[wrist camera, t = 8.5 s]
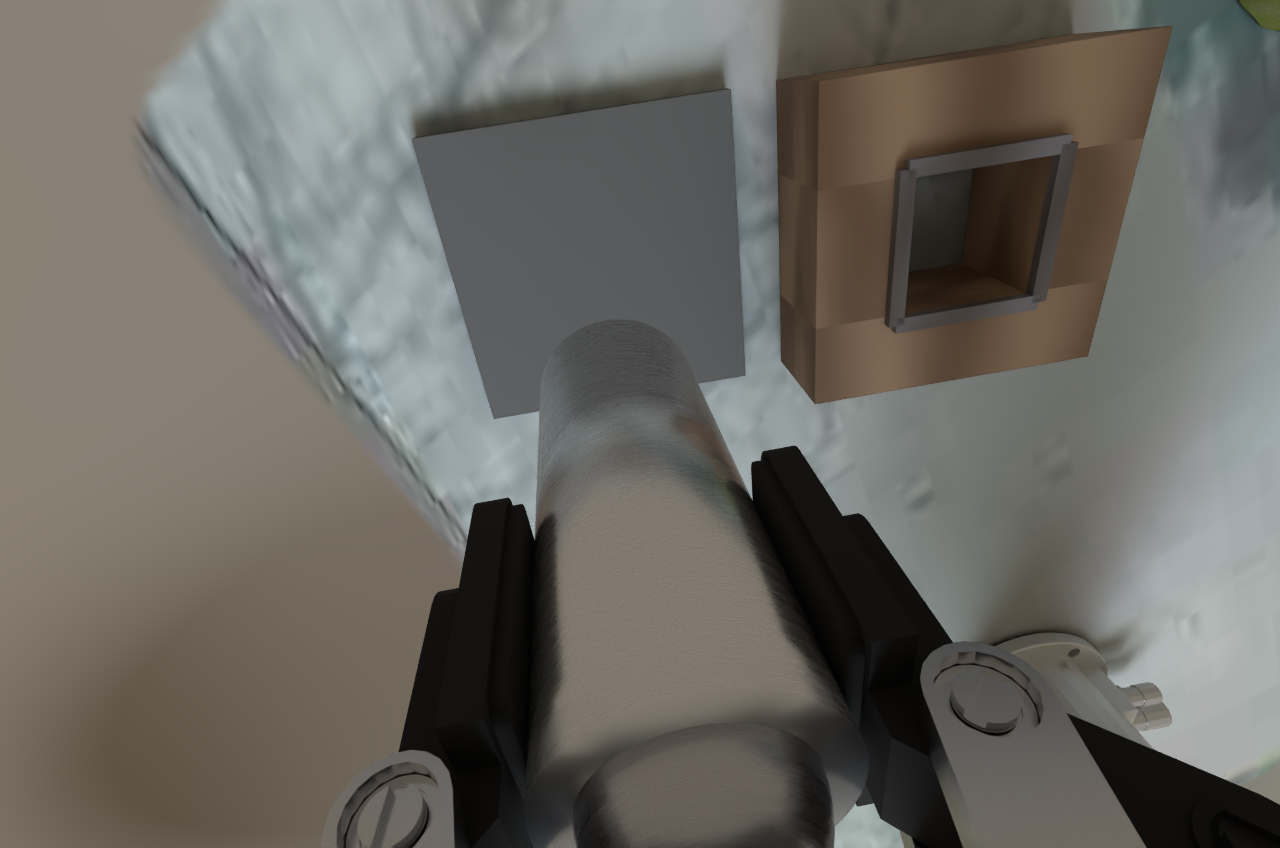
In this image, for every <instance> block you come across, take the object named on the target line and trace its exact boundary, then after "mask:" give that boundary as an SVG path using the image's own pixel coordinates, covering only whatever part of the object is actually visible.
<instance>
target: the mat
mask: <svg viewBox="0 0 1280 848" xmlns="http://www.w3.org/2000/svg"><path fill="white" fill-rule="evenodd" d="M412 142H413V145H414V149H415V152H416V156H417V159H418V162H419V166H420V169H421V173H422V176H423V179H424V183H425V186H426V190H427V193H428V196H429V200H430V203H431V207H432V210H433V213H434V217H435V220H436V224H437V227H438V231H439V234H440V237H441V241H442V244H443V248H444V251H445V254H446V258H447V261H448V265H449V268H450V271H451V275H452V278H453V282H454V285H455V288H456V292H457V295H458V299H459V302H460V305H461V309H462V312H463V316H464V319H465V323H466V326H467V329H468V333H469V336H470V340H471V343H472V346H473V350H474V353H475V357H476V360H477V363H478V367H479V370H480V374H481V377H482V380H483V384H484V387H485V391H486V394H487V398H488V401H489V404H490V408H491V411H492V415H493V418H494V419H497V418H502V417H508V416H514V415H520V414H525V413H531V412H537V411H540V387H541V379H542V375H543V371H544V368H545V366H546V364H547V361H548V359H549V358H550V356H551V355H552V353H553V352H554V350H555V349H556V348H557V347H558V346H559V344H561V343H562V342H563V341H564V340H565V339H566V338H567V337H568V336H570V335H571V334H573V333H574V332H576V331H578V330H579V329H581V328H583V327H585V326H588V325H591V324H593V323H597V322H601V321H605V320H614V319H625V320H633V321H638V322H642V323H646V324H648V325H651V326H653V327H655V328H657V329H659V330H660V331H662V332H664V333H665V334H666V335H668V336H669V337H670V338H671V339H672V340H673V341H674V342H675V343H676V344H677V345H678V346H679V347H680V349H681V350H682V352H683V353H684V355H685V357H686V359H687V361H688V363H689V365H690V368H691V370H692V372H693V374H694V376H695V378H696V380H697V383H704V382H710V381H716V380H722V379H727V378H733V377H739V376H745V357H744V337H743V318H742V298H741V279H740V259H739V240H738V220H737V201H736V181H735V162H734V142H733V123H732V103H731V89H721V90H714V91H708V92H702V93H695V94H689V95H682V96H676V97H670V98H663V99H657V100H651V101H644V102H638V103H631V104H625V105H619V106H612V107H606V108H600V109H593V110H587V111H580V112H574V113H568V114H561V115H555V116H549V117H542V118H536V119H529V120H523V121H517V122H510V123H504V124H498V125H491V126H485V127H478V128H472V129H466V130H459V131H453V132H447V133H440V134H434V135H428V136H421V137H416V138H413V139H412Z"/></svg>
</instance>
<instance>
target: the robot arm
mask: <svg viewBox="0 0 1280 848" xmlns="http://www.w3.org/2000/svg"><path fill="white" fill-rule="evenodd" d="M751 474H752V495H753V503H754V505H755V507H756V509H757V512H758V514H759V516H760V518H761V520H762V522H763V525H764V527H765V529H766V531H767V533H768V535H769V537H770V540H771V542H772V544H773V546H774V548H775V550H776V552H777V555H778V557H779V559H780V561H781V563H782V565H783V568H784V570H785V572H786V574H787V576H788V578H789V580H790V583H791V585H792V587H793V589H794V591H795V593H796V596H797V598H798V600H799V602H800V604H801V606H802V608H803V611H804V613H805V615H806V617H807V619H808V621H809V623H810V626H811V628H812V630H813V632H814V634H815V636H816V639H817V641H818V643H819V645H820V647H821V649H822V651H823V654H824V656H825V658H826V660H827V662H828V664H829V666H830V669H831V671H832V673H833V675H834V677H835V679H836V682H837V684H838V686H839V688H840V690H841V692H842V694H843V697H844V699H845V701H846V703H847V705H848V707H849V709H850V712H851V714H852V716H853V718H854V720H855V722H856V725H857V727H858V729H859V731H860V733H861V735H862V737H863V740H864V742H865V744H866V748H867V752H868V755H869V771H868V775H867V780H866V783H865V786H864V788H863V790H862V793H861V795H860V796H859V798H858V800H857V801H856V805H857V807H858V806H863V805H868V804H872V803H874V804H875V807H876V809H877V811H878V814H879V816H880V818H881V819H882V820H884V821H885V822H887V823H889V824H890V825H892V826H894V827H895V828H897V829H899V830H900V835H901V838H902V841H903V845H904V848H1280V805H1279V804H1277V803H1275V802H1273V801H1271V800H1270V799H1268V798H1266V797H1264V796H1262V795H1260V794H1257V793H1255V792H1253V791H1250V790H1248V789H1246V788H1243V787H1241V786H1239V785H1236V784H1234V783H1232V782H1229V781H1227V780H1224V779H1222V778H1220V777H1217V776H1215V775H1213V774H1210V773H1208V772H1205V771H1203V770H1201V769H1198V768H1196V767H1194V766H1191V765H1189V764H1187V763H1184V762H1182V761H1179V760H1177V759H1175V758H1172V757H1170V756H1168V755H1165V754H1163V753H1160V752H1158V751H1156V750H1154V749H1153V748H1152V747H1151V745H1150V744H1149V743H1148V742H1147V741H1146V740H1145V739H1144V738H1143V736H1142V735H1141V734H1140V733H1139V732H1138V731H1140V730H1141V731H1147V730H1152V729H1157V728H1162V727H1167V726H1170V724H1171V723H1172V717H1171V715H1170V712H1169V710H1168V709H1167V707H1166V706H1165V705H1164V703H1163V702H1162V694H1161V692H1160V690H1159V689H1158V687H1157V686H1156V685H1154V684H1153V683H1150V682H1146V683H1141V684H1136V685H1131V686H1130V687H1126V688H1121V687H1119V686H1117V685H1115V684H1114V683H1113V682H1112V681H1111V680H1110V679H1109V678H1108V677H1107V676H1108V670H1107V664H1106V662H1105V660H1104V659H1103V657H1102V655H1101V654H1100V653H1099V652H1098V651H1097V650H1096V649H1095V648H1094V647H1093V646H1092V645H1091V644H1090V643H1089V642H1087V641H1085V640H1084V639H1082V638H1080V637H1077V636H1074V635H1071V634H1064V633H1054V632H1053V633H1037V634H1032V635H1026V636H1021V637H1018V638H1015V639H1012V640H1009V641H1005V642H1003V643H1001V644H998V645H996V646H991V645H988V644H984V643H977V642H963V641H962V642H956V643H953V642H952V640H951V639H950V637H949V636H948V635H947V633H946V632H945V630H944V629H943V627H942V626H941V625H940V623H939V622H938V620H937V619H936V617H935V616H934V615H933V613H932V612H931V610H930V609H929V607H928V606H927V605H926V603H925V602H924V600H923V599H922V597H921V596H920V595H919V593H918V592H917V590H916V589H915V587H914V586H913V585H912V583H911V582H910V580H909V579H908V577H907V576H906V575H905V573H904V572H903V570H902V569H901V567H900V566H899V564H898V563H897V562H896V560H895V559H894V557H893V556H892V554H891V553H890V552H889V550H888V549H887V547H886V546H885V544H884V543H883V542H882V540H881V539H880V537H879V536H878V534H877V533H876V532H875V530H874V529H873V527H872V526H871V524H870V523H869V522H868V521H867V519H866V518H865V517H864V516H863V515H861V514H859V513H857V514H852V515H847V516H842V514H841V513H840V511H839V510H838V508H837V507H836V505H835V504H834V502H833V501H832V499H831V497H830V496H829V494H828V493H827V491H826V490H825V488H824V487H823V485H822V484H821V482H820V481H819V479H818V477H817V476H816V474H815V473H814V471H813V470H812V468H811V467H810V465H809V464H808V462H807V460H806V459H805V457H804V456H803V454H802V453H801V451H800V450H799V449H798V447H797V446H790V447H784V448H779V449H773V450H768V451H763V452H762V455H761V461H755V462H752V465H751ZM534 547H535V541H534V537H533V534H532V530H531V527H530V523H529V520H528V517H527V513H526V510H525V507H524V505H523V504H519V505H514V506H513V505H512V502H511V500H510V499H509V498H504V499H498V500H493V501H487V502H482V503H476V504H475V505H474V508H473V512H472V518H471V523H470V529H469V534H468V540H467V546H466V551H465V557H464V562H463V568H462V573H461V579H460V585H459V588H456V589H451V590H445V591H440V592H438V593H437V594H436V595H435V597H434V600H433V603H432V606H431V611H430V615H429V619H428V624H427V628H426V633H425V637H424V642H423V646H422V650H421V655H420V659H419V664H418V669H417V673H416V677H415V682H414V686H413V690H412V695H411V699H410V704H409V708H408V713H407V717H406V722H405V726H404V731H403V735H402V739H401V744H400V748H399V752H398V753H393V754H390V755H388V756H386V757H384V758H382V759H380V760H378V761H376V762H374V763H372V764H371V765H370V766H368V767H367V768H366V769H365V770H363V771H362V772H361V773H359V774H358V775H357V776H356V777H355V778H354V779H353V780H352V781H351V782H350V783H349V785H348V786H347V787H346V788H345V789H344V790H343V792H341V794H340V795H339V797H338V799H337V801H336V802H335V804H334V806H333V807H332V809H331V811H330V813H329V814H328V818H327V821H326V825H325V828H324V832H323V835H322V841H321V848H534V846H533V844H532V843H531V841H530V839H529V837H528V833H527V830H526V827H525V791H526V764H527V737H528V710H529V683H530V656H531V629H532V601H533V574H534Z"/></svg>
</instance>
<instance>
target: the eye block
mask: <svg viewBox="0 0 1280 848" xmlns="http://www.w3.org/2000/svg"><path fill="white" fill-rule="evenodd" d="M1172 27H1173V26H1165V27H1153V28H1141V29H1129V30H1117V31H1105V32H1093V33H1081V34H1071V35H1065V36H1059V37H1052V38H1046V39H1039V40H1033V41H1027V42H1020V43H1014V44H1008V45H1001V46H995V47H988V48H982V49H976V50H969V51H963V52H957V53H950V54H944V55H937V56H931V57H925V58H918V59H912V60H906V61H899V62H893V63H886V64H880V65H874V66H867V67H861V68H855V69H848V70H842V71H835V72H829V73H823V74H816V75H810V76H804V77H797V78H791V79H784V80H778V81H776V92H777V147H778V201H779V257H780V312H781V362H782V363H783V364H784V365H785V367H786V368H787V369H788V370H789V372H790V373H791V374H792V376H793V377H794V378H795V379H796V381H797V382H798V383H799V384H800V386H801V387H802V388H803V390H804V391H805V392H806V393H807V395H808V396H809V397H810V398H811V400H812V401H813V402H814V404H819V403H825V402H830V401H836V400H842V399H847V398H853V397H859V396H865V395H870V394H876V393H882V392H887V391H893V390H899V389H904V388H910V387H916V386H921V385H927V384H933V383H939V382H944V381H950V380H956V379H961V378H967V377H973V376H978V375H984V374H990V373H996V372H1001V371H1007V370H1013V369H1018V368H1024V367H1030V366H1035V365H1041V364H1047V363H1052V362H1058V361H1064V360H1070V359H1075V358H1081V357H1087V356H1088V353H1089V349H1090V346H1091V342H1092V338H1093V334H1094V330H1095V326H1096V322H1097V318H1098V315H1099V311H1100V307H1101V303H1102V299H1103V295H1104V291H1105V287H1106V283H1107V280H1108V276H1109V272H1110V268H1111V264H1112V260H1113V256H1114V252H1115V249H1116V245H1117V241H1118V237H1119V233H1120V229H1121V225H1122V221H1123V217H1124V214H1125V210H1126V206H1127V202H1128V198H1129V194H1130V190H1131V186H1132V183H1133V179H1134V175H1135V171H1136V167H1137V163H1138V159H1139V155H1140V151H1141V148H1142V144H1143V140H1144V136H1145V132H1146V128H1147V124H1148V120H1149V116H1150V113H1151V109H1152V105H1153V101H1154V97H1155V93H1156V89H1157V85H1158V82H1159V78H1160V74H1161V70H1162V66H1163V62H1164V58H1165V54H1166V50H1167V47H1168V43H1169V39H1170V35H1171V31H1172ZM972 168H974V175H973V183H972V190H971V198H970V205H969V213H968V220H967V228H966V235H965V243H964V250H963V258H962V264H956V265H950V266H944V267H938V268H932V269H926V270H920V271H914V272H909V262H910V251H911V240H912V229H913V218H914V207H915V195H916V184H917V177H923V176H930V175H936V174H942V173H948V172H954V171H960V170H966V169H972Z"/></svg>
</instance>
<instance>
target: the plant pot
mask: <svg viewBox="0 0 1280 848" xmlns="http://www.w3.org/2000/svg"><path fill="white" fill-rule="evenodd" d="M1239 1H1240V3H1241V5H1242V6H1243V7H1244V8H1245V9H1246V10H1247V11H1248V12H1249V13H1250V14H1251V15H1252V16H1253V17H1254V18H1255V19H1256V20H1257V22H1258V23H1259V24H1260V26H1261V27H1262V28H1266V29H1269V30H1275V31H1280V0H1239Z"/></svg>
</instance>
